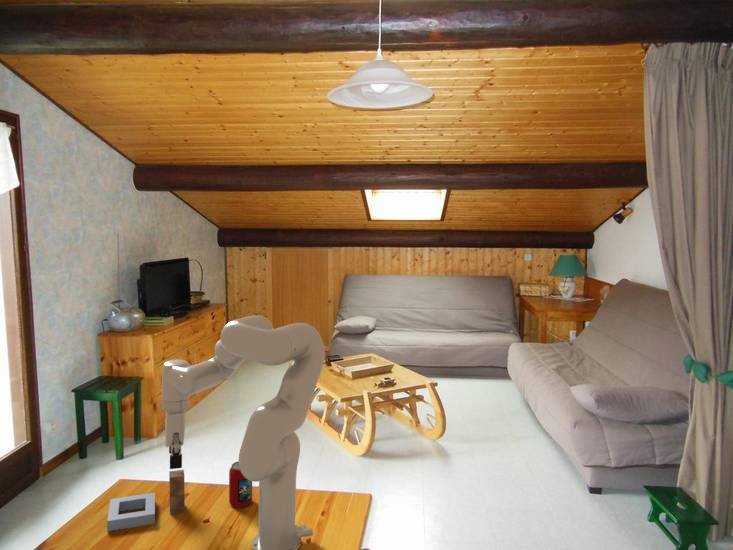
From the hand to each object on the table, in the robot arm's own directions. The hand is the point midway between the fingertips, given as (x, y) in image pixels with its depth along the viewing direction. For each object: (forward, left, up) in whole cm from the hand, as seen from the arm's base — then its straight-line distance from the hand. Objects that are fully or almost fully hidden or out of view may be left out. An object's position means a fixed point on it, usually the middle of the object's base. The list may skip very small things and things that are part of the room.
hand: (175, 460), depth 158 cm
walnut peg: (0, 0, -15) cm, 15 cm away
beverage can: (-18, +2, -15) cm, 24 cm away
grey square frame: (+12, 0, -15) cm, 19 cm away
